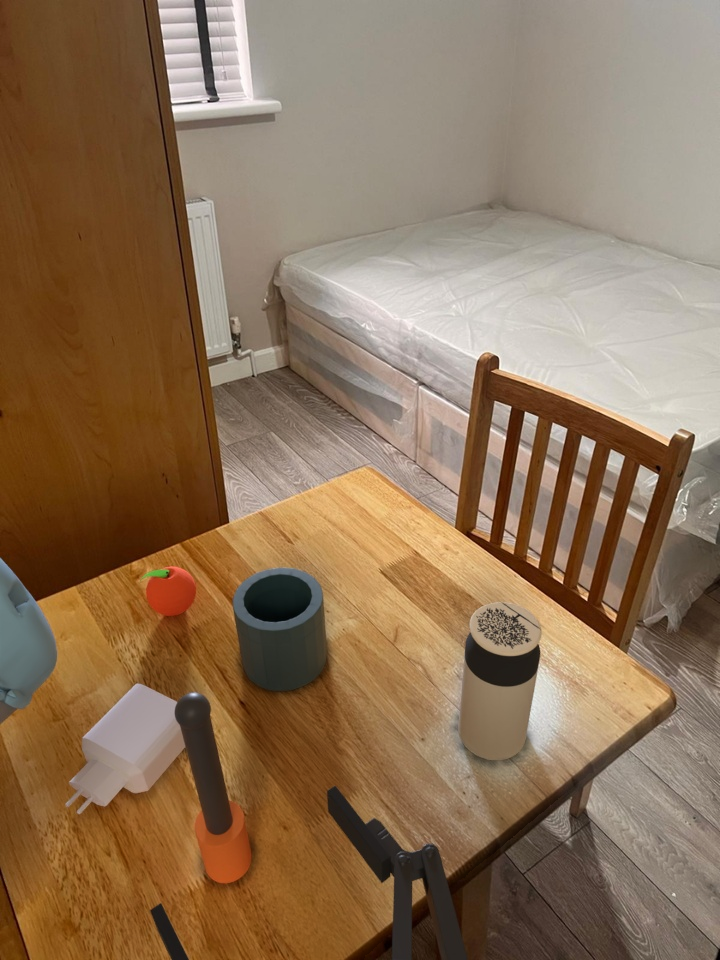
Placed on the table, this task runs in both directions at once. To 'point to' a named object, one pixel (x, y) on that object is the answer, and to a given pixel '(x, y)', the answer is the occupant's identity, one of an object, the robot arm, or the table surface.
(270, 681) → the dark grey pipe sleeve
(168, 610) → the clementine
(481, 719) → the travel mug
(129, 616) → the table surface
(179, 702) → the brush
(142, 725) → the charger
